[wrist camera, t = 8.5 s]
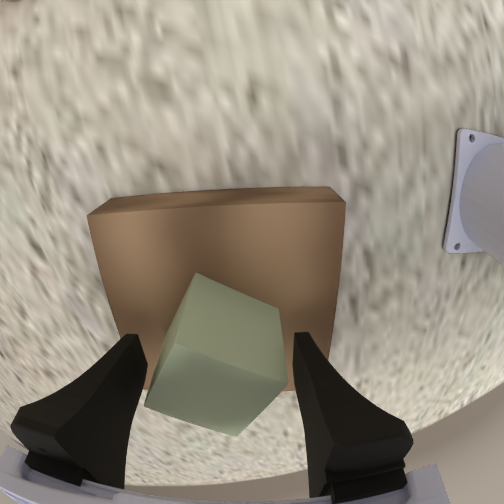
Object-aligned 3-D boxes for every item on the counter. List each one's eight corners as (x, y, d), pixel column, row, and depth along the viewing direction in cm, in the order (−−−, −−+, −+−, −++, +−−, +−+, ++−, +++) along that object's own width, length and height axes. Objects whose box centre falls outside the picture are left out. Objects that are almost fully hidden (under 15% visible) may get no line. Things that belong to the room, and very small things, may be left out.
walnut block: (329, 186, 16) (345, 202, 13) (315, 356, 21) (323, 387, 18) (110, 198, 16) (86, 215, 13) (150, 359, 21) (140, 389, 18)
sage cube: (278, 308, 15) (288, 383, 11) (238, 364, 17) (236, 436, 12) (195, 272, 14) (174, 342, 10) (165, 335, 16) (143, 406, 12)
